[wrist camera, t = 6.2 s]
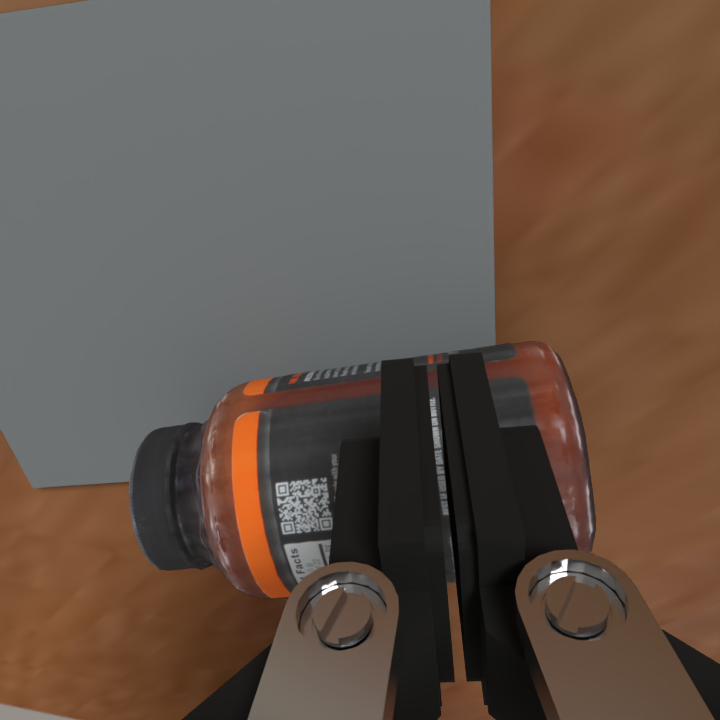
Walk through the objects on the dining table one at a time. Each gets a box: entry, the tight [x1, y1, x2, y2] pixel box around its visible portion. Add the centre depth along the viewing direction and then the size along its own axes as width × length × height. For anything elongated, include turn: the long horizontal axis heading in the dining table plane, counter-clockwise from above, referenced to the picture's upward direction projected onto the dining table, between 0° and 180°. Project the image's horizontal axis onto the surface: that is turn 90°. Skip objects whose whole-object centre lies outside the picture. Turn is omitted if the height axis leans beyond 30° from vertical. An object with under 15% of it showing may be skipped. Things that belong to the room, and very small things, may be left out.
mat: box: [0, 0, 496, 488], centre depth 18 cm, size 16×14×1 cm
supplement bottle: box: [129, 341, 596, 598], centre depth 17 cm, size 6×6×11 cm
